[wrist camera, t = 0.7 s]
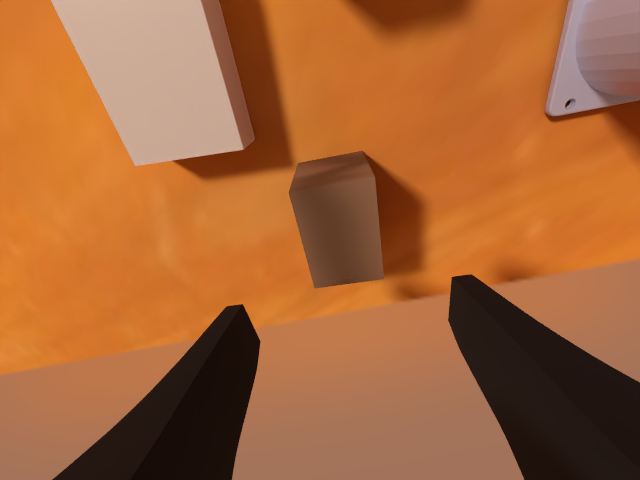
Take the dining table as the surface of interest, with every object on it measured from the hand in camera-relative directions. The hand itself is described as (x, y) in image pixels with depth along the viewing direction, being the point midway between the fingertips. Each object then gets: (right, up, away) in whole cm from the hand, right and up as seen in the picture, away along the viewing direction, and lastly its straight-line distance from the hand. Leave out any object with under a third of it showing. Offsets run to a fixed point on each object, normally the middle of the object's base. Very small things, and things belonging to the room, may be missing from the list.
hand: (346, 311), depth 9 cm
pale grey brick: (-8, +12, +5) cm, 15 cm away
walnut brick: (0, +5, +9) cm, 10 cm away
